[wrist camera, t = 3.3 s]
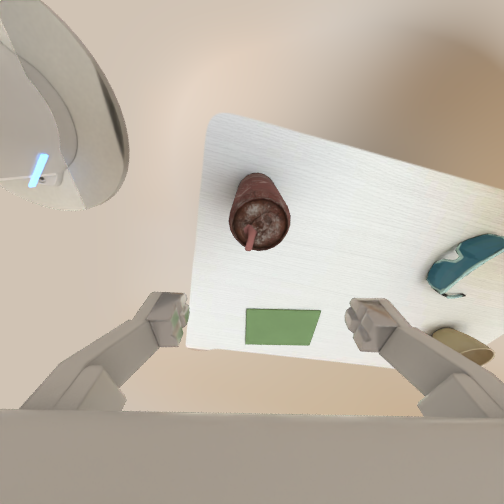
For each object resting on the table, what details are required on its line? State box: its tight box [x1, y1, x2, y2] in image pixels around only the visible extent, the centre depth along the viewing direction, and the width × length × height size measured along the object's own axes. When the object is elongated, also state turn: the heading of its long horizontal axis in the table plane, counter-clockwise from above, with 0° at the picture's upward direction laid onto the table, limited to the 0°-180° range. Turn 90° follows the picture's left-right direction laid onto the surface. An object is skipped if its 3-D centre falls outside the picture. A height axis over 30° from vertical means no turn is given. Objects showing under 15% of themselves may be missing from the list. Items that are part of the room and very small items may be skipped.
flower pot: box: [432, 328, 495, 366], centre depth 45 cm, size 10×10×7 cm
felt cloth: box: [246, 309, 321, 345], centre depth 46 cm, size 18×14×1 cm
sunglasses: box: [426, 234, 504, 298], centre depth 35 cm, size 14×15×5 cm
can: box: [229, 173, 290, 251], centre depth 23 cm, size 6×6×14 cm
